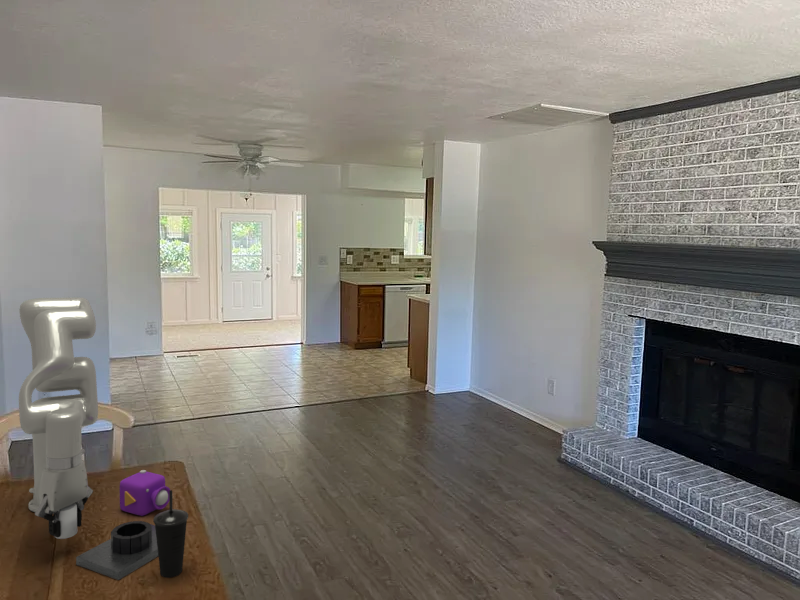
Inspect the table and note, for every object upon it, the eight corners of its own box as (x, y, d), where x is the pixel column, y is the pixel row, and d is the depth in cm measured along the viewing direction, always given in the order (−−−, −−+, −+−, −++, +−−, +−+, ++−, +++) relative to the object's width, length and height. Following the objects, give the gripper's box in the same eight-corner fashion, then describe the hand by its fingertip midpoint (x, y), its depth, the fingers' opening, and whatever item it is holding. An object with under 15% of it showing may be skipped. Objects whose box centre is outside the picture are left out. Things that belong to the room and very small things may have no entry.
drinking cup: (177, 559, 147) (177, 481, 145) (194, 571, 142) (194, 490, 140) (147, 572, 141) (146, 490, 139) (164, 585, 136) (164, 500, 134)
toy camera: (157, 521, 166) (157, 486, 165) (114, 514, 169) (113, 480, 168) (179, 504, 177) (179, 471, 176) (138, 498, 179) (137, 466, 178)
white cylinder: (49, 535, 146) (48, 507, 145) (68, 526, 151) (67, 498, 150) (63, 540, 144) (62, 512, 143) (81, 531, 149) (81, 503, 148)
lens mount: (76, 564, 143) (75, 540, 142) (143, 528, 161) (142, 507, 161) (118, 580, 137) (118, 555, 137) (182, 541, 156) (182, 519, 155)
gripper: (84, 445, 154) (85, 511, 157) (19, 469, 139) (21, 542, 141) (105, 451, 151) (106, 519, 154) (41, 476, 136) (43, 551, 138)
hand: (65, 529), depth 148 cm, fingers closed on white cylinder, 4 cm apart
